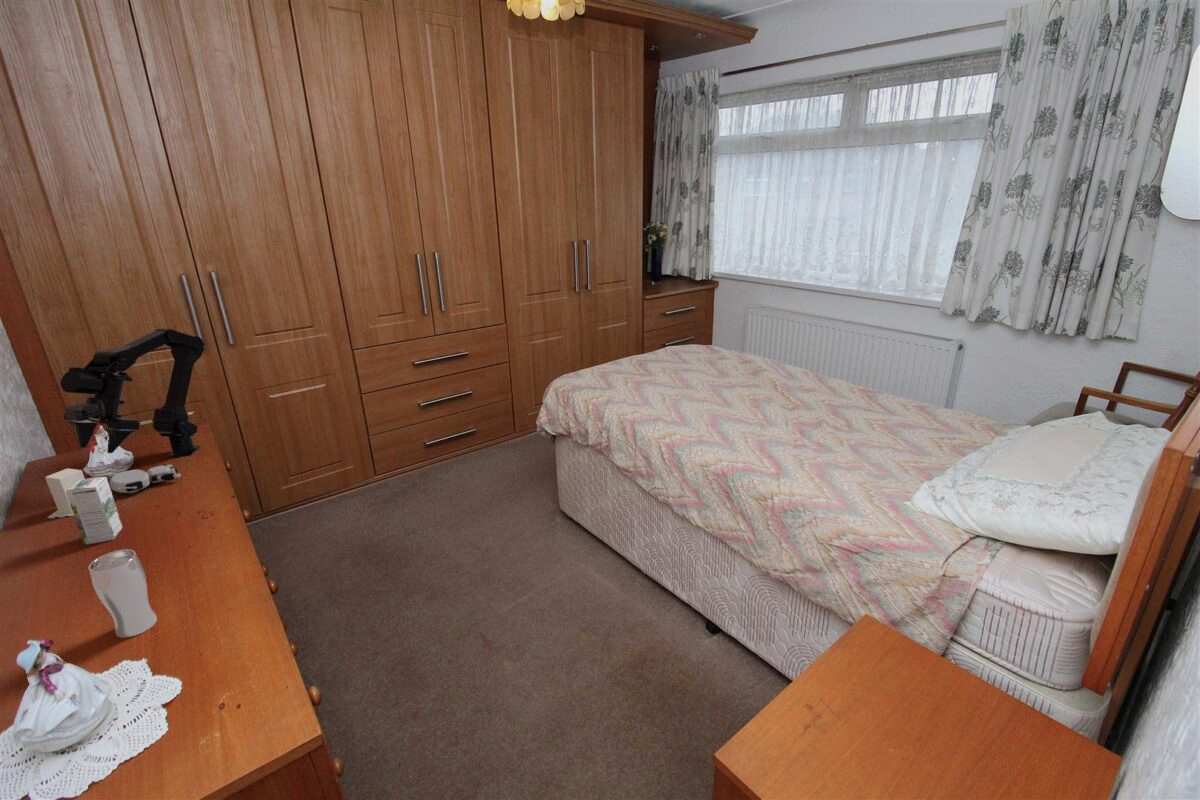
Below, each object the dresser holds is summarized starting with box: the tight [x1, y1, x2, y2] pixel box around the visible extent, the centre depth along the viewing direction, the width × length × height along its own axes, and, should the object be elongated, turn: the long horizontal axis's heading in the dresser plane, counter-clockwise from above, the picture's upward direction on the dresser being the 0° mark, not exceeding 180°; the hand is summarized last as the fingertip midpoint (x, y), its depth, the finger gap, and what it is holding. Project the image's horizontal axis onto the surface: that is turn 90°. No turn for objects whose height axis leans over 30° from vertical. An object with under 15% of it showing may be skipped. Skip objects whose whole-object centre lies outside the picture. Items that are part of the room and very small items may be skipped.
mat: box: [47, 509, 74, 519], centre depth 142 cm, size 8×8×1 cm
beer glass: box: [87, 548, 158, 639], centre depth 99 cm, size 7×7×15 cm
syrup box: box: [66, 476, 124, 546], centre depth 128 cm, size 6×6×14 cm
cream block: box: [45, 467, 86, 513], centre depth 140 cm, size 5×5×10 cm
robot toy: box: [107, 464, 182, 494], centre depth 154 cm, size 12×4×15 cm
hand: (96, 450), depth 150 cm, fingers open, 9 cm apart
